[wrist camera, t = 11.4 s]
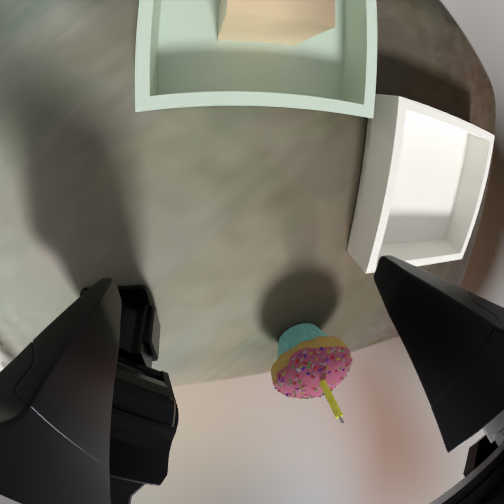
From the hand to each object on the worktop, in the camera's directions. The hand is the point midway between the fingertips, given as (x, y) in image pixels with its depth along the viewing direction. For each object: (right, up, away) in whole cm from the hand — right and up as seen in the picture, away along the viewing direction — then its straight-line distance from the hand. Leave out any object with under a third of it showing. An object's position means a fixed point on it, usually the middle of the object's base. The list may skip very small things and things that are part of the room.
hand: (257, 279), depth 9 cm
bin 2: (+15, +7, +13) cm, 22 cm away
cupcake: (+5, -9, +21) cm, 23 cm away
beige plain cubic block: (0, +16, +4) cm, 17 cm away
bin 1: (0, +17, +4) cm, 17 cm away
